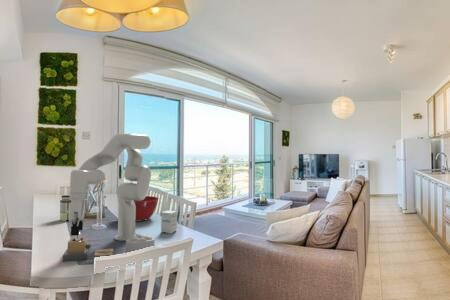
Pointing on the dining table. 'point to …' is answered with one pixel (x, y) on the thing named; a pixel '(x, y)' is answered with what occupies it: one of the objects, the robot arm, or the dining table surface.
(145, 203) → the mixing bowl
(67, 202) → the coffee can
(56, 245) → the dining table surface
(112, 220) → the dining table surface
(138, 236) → the lumpy-topped squat cylinder
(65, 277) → the dining table surface
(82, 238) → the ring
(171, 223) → the supplement box
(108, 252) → the cork pad
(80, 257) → the vise block
